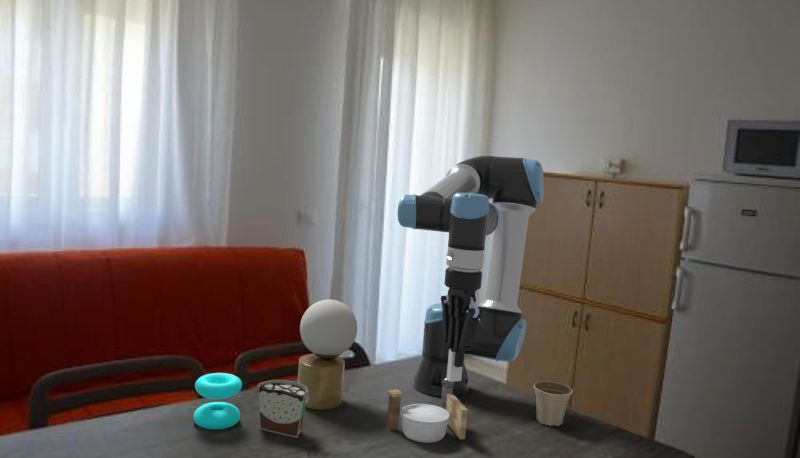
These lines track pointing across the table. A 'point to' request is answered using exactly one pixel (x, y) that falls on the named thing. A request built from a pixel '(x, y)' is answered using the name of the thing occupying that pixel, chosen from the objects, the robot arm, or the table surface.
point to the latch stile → (393, 409)
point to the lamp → (325, 351)
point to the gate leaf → (456, 415)
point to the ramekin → (424, 422)
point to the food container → (282, 406)
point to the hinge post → (446, 391)
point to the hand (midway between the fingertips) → (453, 380)
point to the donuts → (217, 412)
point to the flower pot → (551, 402)
